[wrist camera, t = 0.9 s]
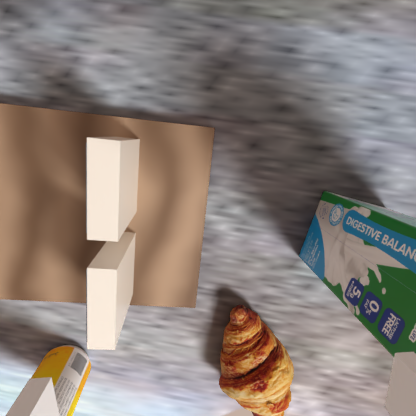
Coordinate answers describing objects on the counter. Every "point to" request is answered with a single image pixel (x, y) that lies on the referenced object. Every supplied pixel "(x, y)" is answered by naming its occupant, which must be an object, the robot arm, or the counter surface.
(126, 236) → the tile
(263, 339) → the croissant
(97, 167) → the tile
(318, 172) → the counter surface
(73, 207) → the board
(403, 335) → the milk carton
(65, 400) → the beer can
